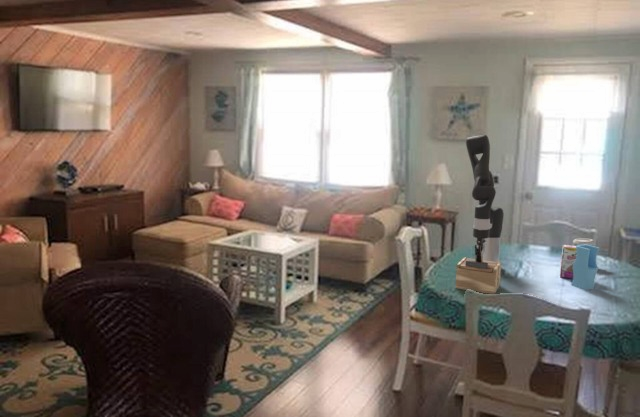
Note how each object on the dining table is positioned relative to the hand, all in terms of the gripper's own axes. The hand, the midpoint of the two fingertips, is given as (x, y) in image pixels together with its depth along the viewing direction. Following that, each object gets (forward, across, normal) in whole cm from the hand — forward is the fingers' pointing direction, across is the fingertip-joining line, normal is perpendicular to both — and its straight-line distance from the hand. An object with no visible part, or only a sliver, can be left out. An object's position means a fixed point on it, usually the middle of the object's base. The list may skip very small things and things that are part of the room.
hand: (479, 262), depth 263 cm
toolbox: (+12, 0, 0) cm, 12 cm away
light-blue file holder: (+13, -26, +45) cm, 54 cm away
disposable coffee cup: (+13, -66, +42) cm, 79 cm away
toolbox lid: (+2, 0, 0) cm, 2 cm away
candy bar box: (+13, -39, +39) cm, 57 cm away
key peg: (+5, 0, 0) cm, 5 cm away
